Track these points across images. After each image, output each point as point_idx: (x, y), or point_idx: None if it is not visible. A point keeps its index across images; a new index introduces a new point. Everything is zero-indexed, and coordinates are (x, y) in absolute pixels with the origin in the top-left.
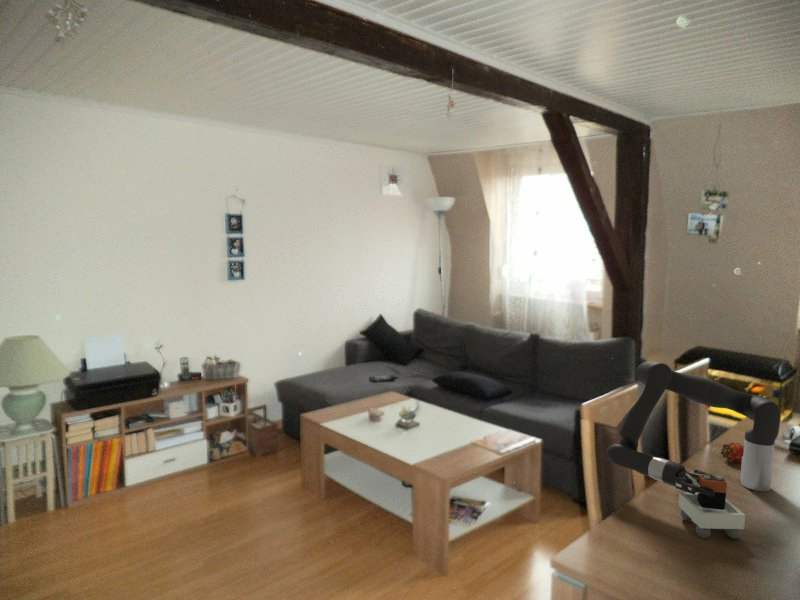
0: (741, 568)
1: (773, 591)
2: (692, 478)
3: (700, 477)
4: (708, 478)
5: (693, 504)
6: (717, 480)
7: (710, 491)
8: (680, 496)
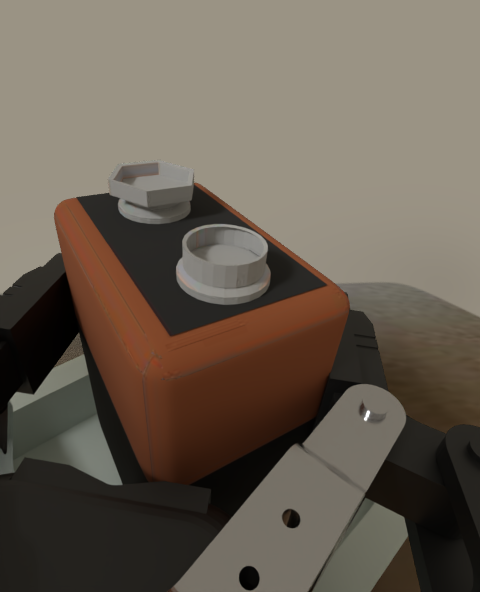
0: (424, 371)
1: (446, 306)
2: (253, 534)
3: (236, 359)
4: (255, 256)
5: (344, 581)
6: (224, 211)
7: (361, 314)
8: None
